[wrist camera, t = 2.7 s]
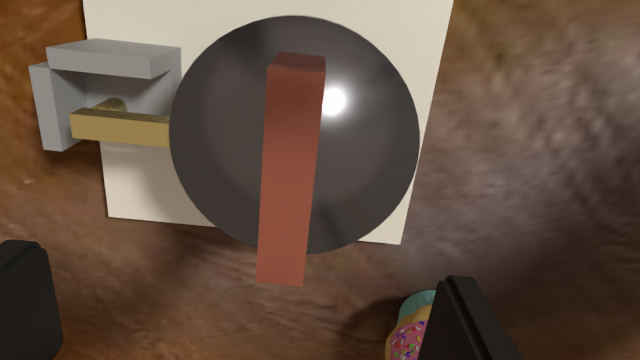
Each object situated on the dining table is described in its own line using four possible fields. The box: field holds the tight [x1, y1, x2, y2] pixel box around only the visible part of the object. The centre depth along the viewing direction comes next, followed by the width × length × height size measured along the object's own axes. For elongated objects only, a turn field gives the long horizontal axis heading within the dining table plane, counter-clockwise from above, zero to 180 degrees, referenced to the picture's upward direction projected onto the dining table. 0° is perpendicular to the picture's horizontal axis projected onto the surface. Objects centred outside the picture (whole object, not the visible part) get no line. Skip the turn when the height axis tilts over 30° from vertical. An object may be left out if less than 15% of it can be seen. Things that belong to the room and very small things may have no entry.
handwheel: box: [69, 15, 420, 286], centre depth 20 cm, size 17×12×9 cm
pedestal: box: [29, 0, 453, 244], centre depth 24 cm, size 22×18×6 cm
